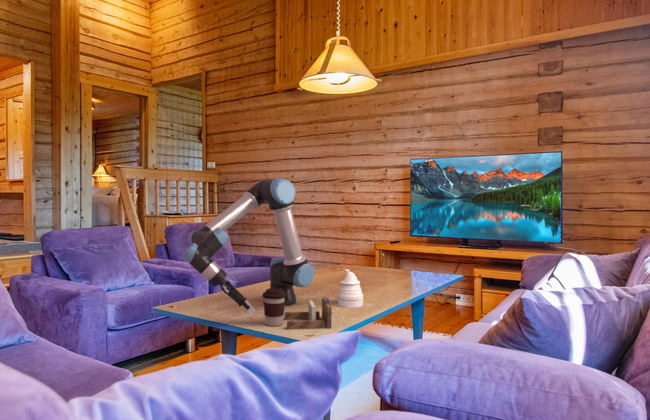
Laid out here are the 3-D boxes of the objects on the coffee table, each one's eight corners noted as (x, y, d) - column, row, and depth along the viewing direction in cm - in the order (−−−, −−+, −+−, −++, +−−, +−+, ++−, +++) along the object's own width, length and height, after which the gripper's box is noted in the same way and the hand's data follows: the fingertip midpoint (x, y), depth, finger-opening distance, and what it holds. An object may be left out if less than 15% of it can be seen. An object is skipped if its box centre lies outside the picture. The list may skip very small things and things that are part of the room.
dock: (287, 329, 190) (287, 304, 189) (284, 318, 206) (284, 295, 206) (332, 328, 192) (332, 303, 192) (326, 317, 209) (326, 295, 209)
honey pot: (340, 308, 227) (341, 271, 226) (335, 302, 239) (335, 267, 239) (366, 307, 229) (366, 271, 229) (359, 301, 242) (359, 267, 241)
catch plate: (311, 325, 194) (312, 306, 193) (308, 318, 206) (308, 300, 205) (315, 325, 194) (315, 306, 194) (312, 318, 206) (312, 300, 206)
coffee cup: (286, 321, 202) (286, 287, 202) (285, 327, 193) (285, 291, 192) (263, 321, 202) (263, 287, 202) (261, 327, 192) (261, 291, 192)
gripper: (209, 278, 199) (248, 315, 202) (206, 284, 186) (247, 323, 189) (222, 265, 199) (260, 303, 202) (219, 270, 187) (261, 310, 190)
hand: (254, 313), depth 196 cm, fingers closed
